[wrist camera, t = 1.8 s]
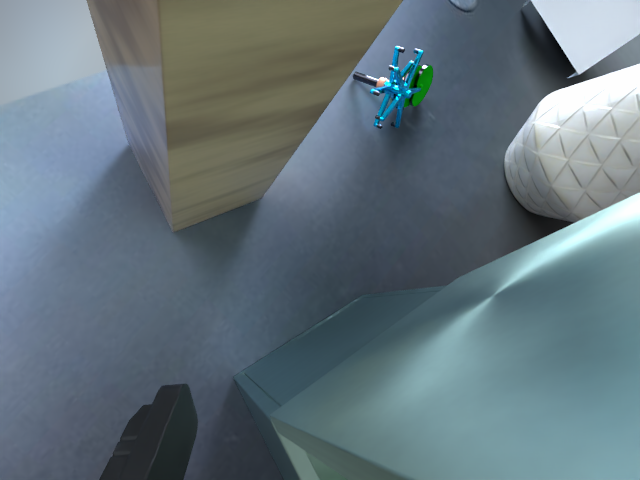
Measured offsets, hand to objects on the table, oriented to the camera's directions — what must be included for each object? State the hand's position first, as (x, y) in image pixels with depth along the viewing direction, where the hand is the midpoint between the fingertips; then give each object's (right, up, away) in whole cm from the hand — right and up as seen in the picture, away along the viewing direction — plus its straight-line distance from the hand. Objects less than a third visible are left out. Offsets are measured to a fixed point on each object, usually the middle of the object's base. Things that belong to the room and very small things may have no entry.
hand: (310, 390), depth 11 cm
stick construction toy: (+8, +22, +27) cm, 36 cm away
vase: (+30, +14, +35) cm, 48 cm away
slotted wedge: (+41, +41, +46) cm, 74 cm away
